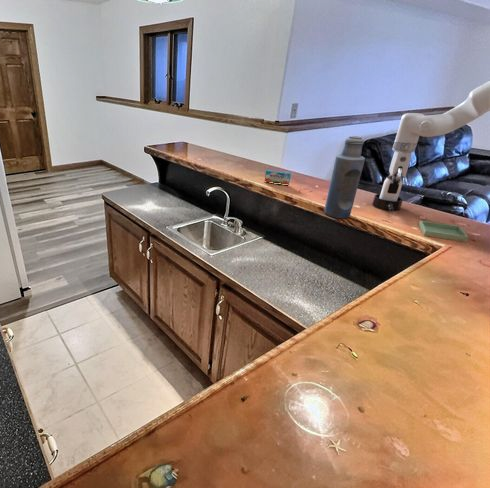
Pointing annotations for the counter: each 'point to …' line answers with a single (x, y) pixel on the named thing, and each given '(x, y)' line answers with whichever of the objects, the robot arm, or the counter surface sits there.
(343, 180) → the bottle
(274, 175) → the teal printed box
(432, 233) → the tray
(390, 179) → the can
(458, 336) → the counter surface
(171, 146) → the counter surface
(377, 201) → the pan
